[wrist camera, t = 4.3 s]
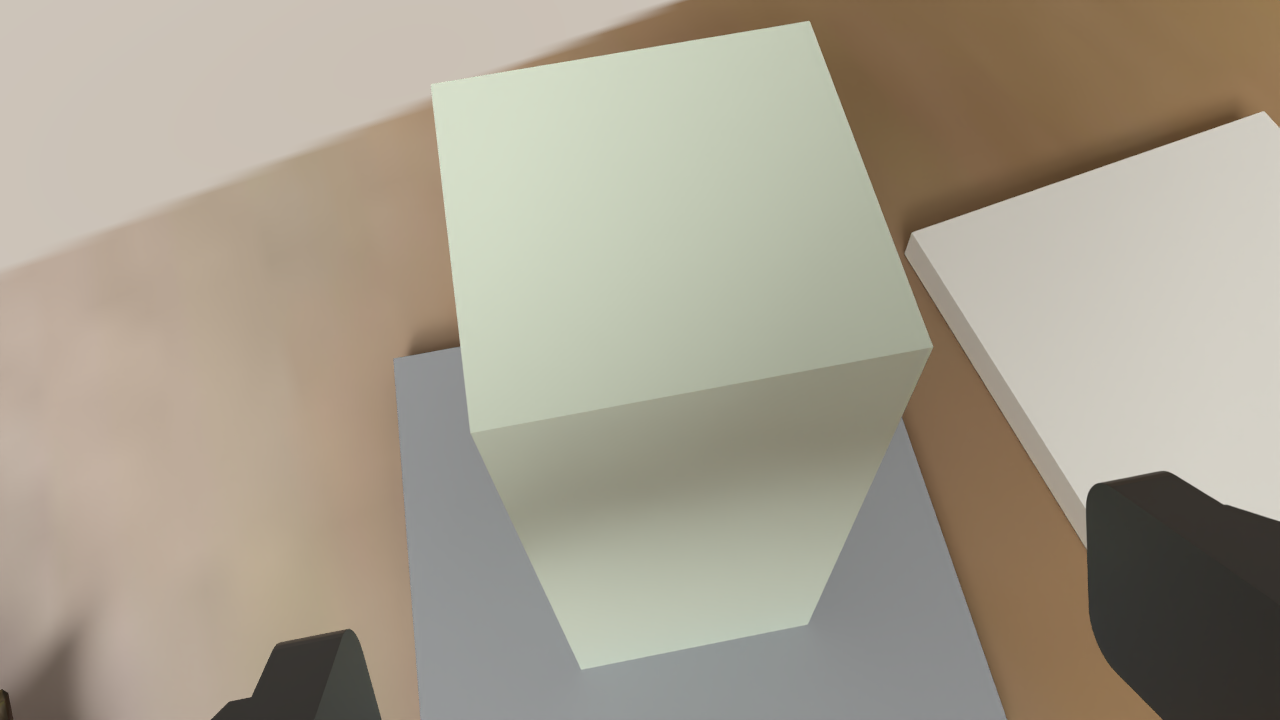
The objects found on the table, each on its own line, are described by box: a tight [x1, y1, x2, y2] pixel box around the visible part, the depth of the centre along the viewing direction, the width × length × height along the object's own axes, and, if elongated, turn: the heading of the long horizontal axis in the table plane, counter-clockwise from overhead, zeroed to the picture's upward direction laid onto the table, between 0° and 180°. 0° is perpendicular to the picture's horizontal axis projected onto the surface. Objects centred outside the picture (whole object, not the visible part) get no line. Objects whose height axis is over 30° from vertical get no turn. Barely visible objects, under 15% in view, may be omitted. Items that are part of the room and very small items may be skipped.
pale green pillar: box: [431, 21, 933, 670], centre depth 17 cm, size 5×5×12 cm
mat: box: [905, 111, 1280, 549], centre depth 25 cm, size 11×11×1 cm
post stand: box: [394, 347, 1007, 720], centre depth 21 cm, size 12×12×6 cm
